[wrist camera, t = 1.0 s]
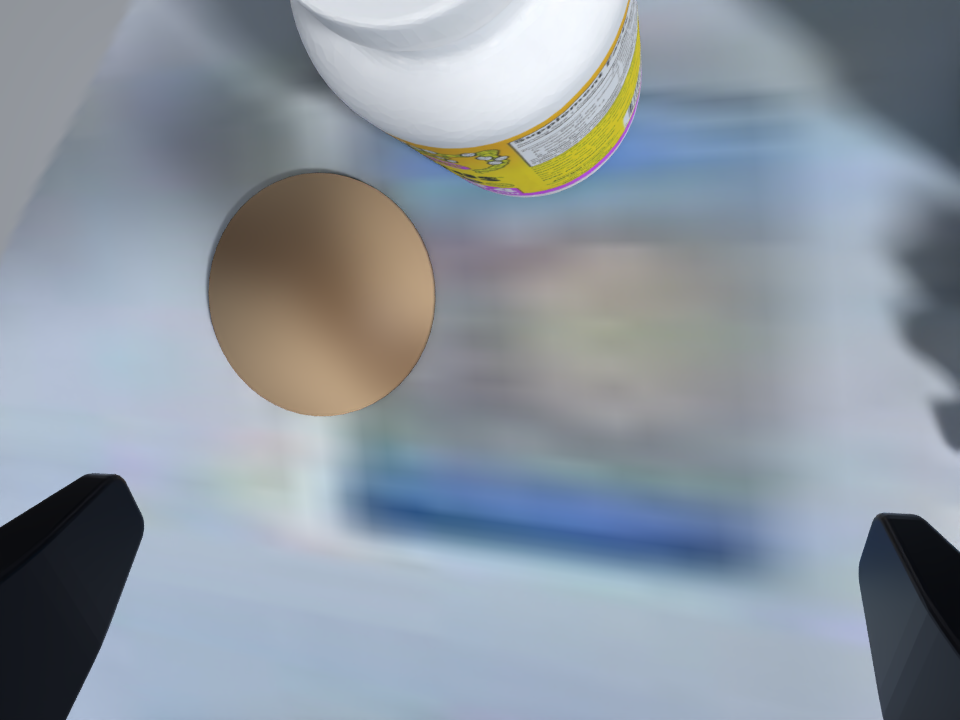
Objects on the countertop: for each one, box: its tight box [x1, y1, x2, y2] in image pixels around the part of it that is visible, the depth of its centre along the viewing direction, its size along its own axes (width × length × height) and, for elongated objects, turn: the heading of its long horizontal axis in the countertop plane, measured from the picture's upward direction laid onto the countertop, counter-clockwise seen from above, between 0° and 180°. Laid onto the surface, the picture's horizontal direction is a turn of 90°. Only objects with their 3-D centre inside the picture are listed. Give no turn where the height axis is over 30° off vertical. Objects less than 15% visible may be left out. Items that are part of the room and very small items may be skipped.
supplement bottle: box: [290, 0, 642, 197], centre depth 17 cm, size 7×7×13 cm
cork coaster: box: [209, 173, 435, 416], centre depth 25 cm, size 8×8×1 cm
